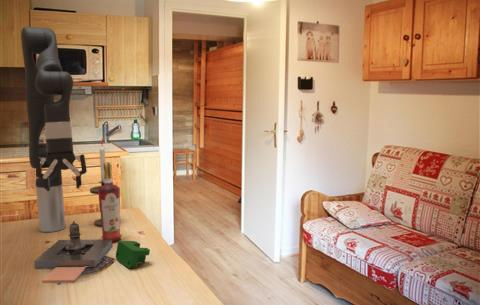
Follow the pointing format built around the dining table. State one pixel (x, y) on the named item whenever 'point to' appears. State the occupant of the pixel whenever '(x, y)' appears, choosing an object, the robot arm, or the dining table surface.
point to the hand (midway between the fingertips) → (63, 189)
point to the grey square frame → (59, 259)
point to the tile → (64, 274)
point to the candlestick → (95, 189)
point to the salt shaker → (75, 240)
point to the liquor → (109, 206)
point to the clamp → (131, 253)
